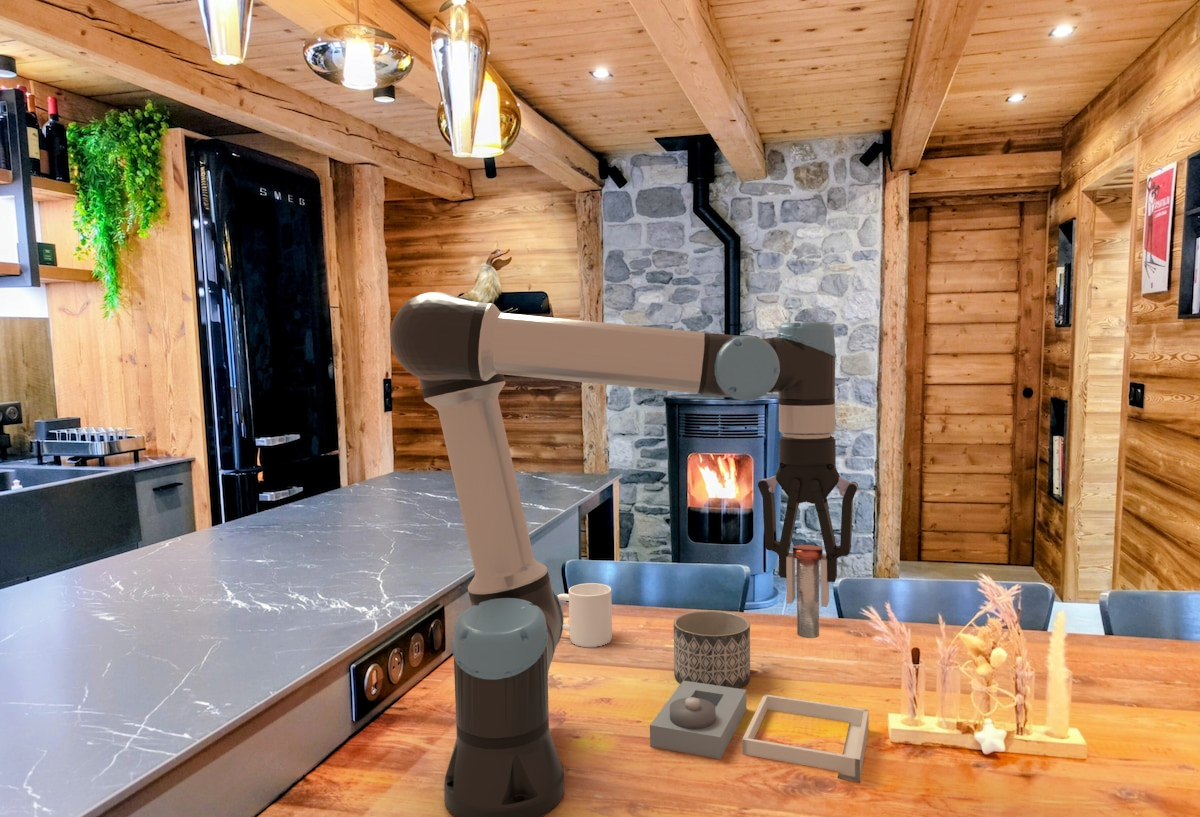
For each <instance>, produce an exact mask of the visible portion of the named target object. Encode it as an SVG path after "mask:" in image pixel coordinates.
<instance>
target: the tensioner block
mask: <svg viewBox="0 0 1200 817" xmlns="http://www.w3.org/2000/svg"><path fill="white" fill-rule="evenodd" d="M746 711H747V689H742V688H740V689H738V688H731V687H724V686H717V685H710V684H704V683H697V682H690V681H682V683H681V684H680V683H679V686H678V687H677V688H676V689H675V691H674V692H673V694H671V696H670V698H668V700H667V702H665V704H664V706H663V707H662V708H661V709H660V711H659V712H658V713H657V715H656V716H655V717H654V719H653V720H652V722H651V723H650V724H649V747H652V748H657V749H662V750H669V751H673V752H679V753H683V754H689V755H695V756H700V757H706V758H712V759H717V760H721V759H722V757H723V755H724V754H725V752H726V750H727V748H728V746H729V744H730V742H731V740H732V738H733V736H734V735H735V732H736V730H737V728H738V727H739V725H740V723H741V721H742V719H743V717H744V714H745V713H746Z"/></svg>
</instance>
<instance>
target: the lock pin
mask: <svg viewBox="0 0 1200 817" xmlns="http://www.w3.org/2000/svg"><path fill="white" fill-rule="evenodd" d="M823 550H824V549H823V547H821V546H819V545H814V544H798V545H794V546H793V547H792V553H793V557H794V558H795V560H796V635H798V636H799V637H801V638H805V639H815V638H818V637H820V561H821V559H822V558H823V555H824V554H823V553H824V552H823Z"/></svg>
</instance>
